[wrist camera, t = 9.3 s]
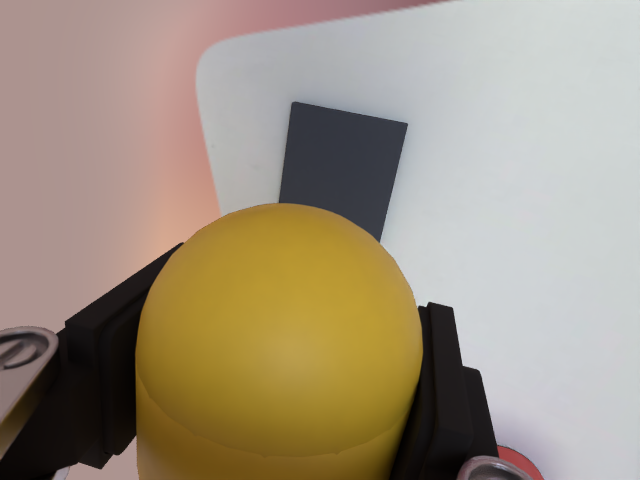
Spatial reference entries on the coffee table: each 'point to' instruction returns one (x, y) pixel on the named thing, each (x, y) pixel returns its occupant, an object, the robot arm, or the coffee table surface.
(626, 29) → the coffee table surface
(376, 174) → the mat
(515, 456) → the flower pot
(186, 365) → the yellow grooved capsule
